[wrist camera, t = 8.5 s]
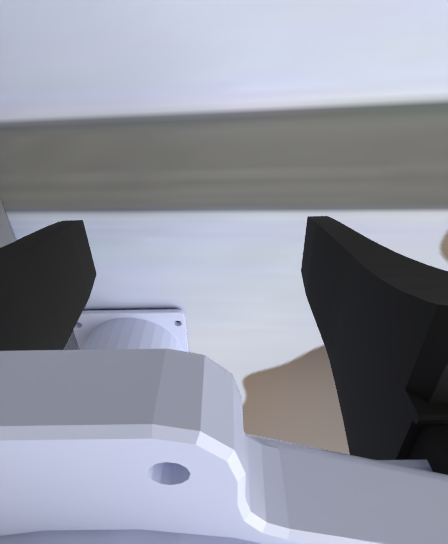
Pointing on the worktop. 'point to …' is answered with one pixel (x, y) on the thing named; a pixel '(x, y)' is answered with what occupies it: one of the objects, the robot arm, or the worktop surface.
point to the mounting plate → (5, 228)
